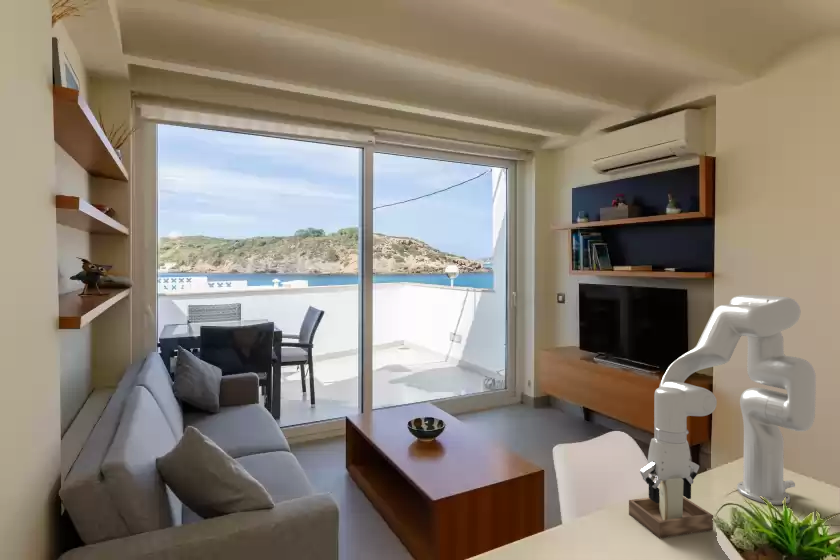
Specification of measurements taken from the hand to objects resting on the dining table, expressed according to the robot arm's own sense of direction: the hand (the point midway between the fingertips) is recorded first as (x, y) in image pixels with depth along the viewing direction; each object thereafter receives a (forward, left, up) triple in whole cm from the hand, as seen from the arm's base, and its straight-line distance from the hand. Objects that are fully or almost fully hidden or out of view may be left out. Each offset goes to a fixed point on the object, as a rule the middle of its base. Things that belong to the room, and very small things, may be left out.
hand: (669, 498), depth 121 cm
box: (0, 0, -6) cm, 6 cm away
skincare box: (0, 0, -6) cm, 6 cm away
